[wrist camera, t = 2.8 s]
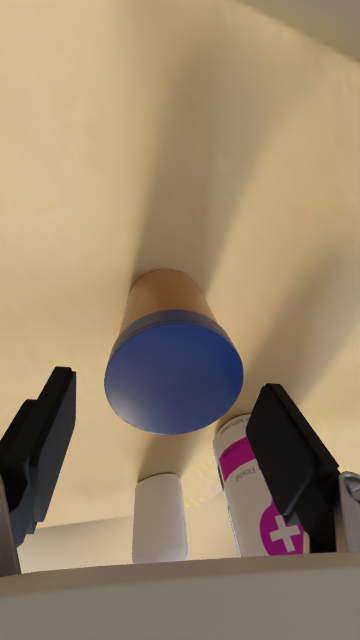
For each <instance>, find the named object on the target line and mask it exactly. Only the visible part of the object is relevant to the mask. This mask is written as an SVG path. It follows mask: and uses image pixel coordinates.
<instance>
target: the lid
mask: <svg viewBox="0 0 360 640" xmlns="http://www.w3.org/2000/svg"><path fill="white" fill-rule="evenodd" d="M243 377H244V373H243V365H242V361H241V359H240V356H239V354H238V352H237V350H236V349H235V347H234V345H233V343H232V342H231V340H230V338H229V336H228V335H227V333H226V332H225V331H224V329H223V328H222V327H221V326H220V325H219V324H218V323H216V322H215V321H213V320H212V319H210V318H209V317H207V316H205V315H203V314H200V313H197V312H193V311H188V310H180V309H171V310H163V311H157V312H154V313H151V314H148V315H146V316H144V317H141V318H140V319H138V320H136V321H135V322H133V323H132V324H131V325H129V326H128V327H127V328H126V329H125V330H124V331H123V332H122V333H121V334H120V336H119V337H118V338H117V340H116V342H115V344H114V345H113V348H112V351H111V354H110V357H109V361H108V365H107V368H106V372H105V378H104V387H105V393H106V396H107V399H108V402H109V403H110V405H111V407H112V408H113V410H114V411H115V412H116V414H117V415H118V416H119V417H120V418H121V419H123V420H124V421H125V422H127V423H128V424H130V425H132V426H134V427H136V428H138V429H140V430H143V431H146V432H150V433H155V434H164V435H174V434H183V433H188V432H192V431H195V430H198V429H201V428H204V427H206V426H208V425H210V424H212V423H213V422H215V421H216V420H218V419H219V418H220V417H222V416H223V415H224V414H225V413H226V412H227V411H228V410H229V409H230V408H231V407H232V405H233V404H234V403H235V401H236V400H237V398H238V396H239V394H240V391H241V388H242V385H243Z"/></svg>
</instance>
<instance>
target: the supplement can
mask: <svg viewBox="0 0 360 640" xmlns="http://www.w3.org/2000/svg"><path fill="white" fill-rule="evenodd" d="M250 416H251V414H246V415H242V416H238V417H236V418H234V419H232V420H230V421H228V422H227V423H226V424H225V425H224V426H223V427H221V428H220V430H219V431H218V432H217V434H216V436H215V438H214V440H213V452H214V456H215V460H216V465H217V469H218V473H219V477H220V481H221V485H222V489H223V493H224V497H225V501H226V506H227V510H228V513H229V518H230V522H231V526H232V530H233V533H234V538H235V542H236V547H237V550H238V554H239V557H256V556H274V555H293V554H303V535H304V530H303V528H302V526H301V524H299V525H286V523H285V520H284V518H283V516H282V515H280V514H279V512H278V511H277V508H276V506H275V504H274V501H273V499H272V496H271V494H270V492H269V489H268V487H267V484H266V482H265V479H264V477H263V475H262V472H261V470H260V467H259V465H258V463H257V460H256V458H255V455H254V453H253V451H252V448H251V446H250V443H249V441H248V439H247V436H246V431H245V430H246V425H247V423H248V421H249V418H250Z"/></svg>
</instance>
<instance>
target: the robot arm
mask: <svg viewBox="0 0 360 640" xmlns="http://www.w3.org/2000/svg"><path fill="white" fill-rule="evenodd" d="M75 419H76V372H74V371H72V369H71V368H70V367H57V366H56V367H55V368H54V370H53V372H52V374H51V375H50V377H49V379H48V381H47V383H46V384H45V386H44V388H43V390H42V392H41V393H40V395H39V397H38V399H37V400H32V399H27V400H26V401H25V402H24V403H23V404H22V406H21V408H20V409H19V411H18V413H17V414H16V416H15V418H14V419H13V421H12V422H11V424H10V426H9V427H8V429H7V431H6V432H5V434H4V435H3V437H2V439H1V440H0V640H360V475H358V474H356V473H353V472H348V471H345V472H342V473H340V472H339V470H338V469H337V468H338V467H339V465H338V463H337V462H336V461H335V459H334V458H333V456H332V455H331V454H330V452H329V451H328V449H327V448H326V447H325V445H324V444H323V442H322V441H321V440H320V438H319V437H318V436H317V434H316V433H315V431H314V430H313V429H312V427H311V426H310V424H309V423H308V422H307V420H306V419H305V417H304V416H303V415H302V413H301V412H300V410H299V409H298V408H297V406H296V405H295V403H294V402H293V401H292V399H291V398H290V396H289V395H288V394H287V392H286V391H285V390H284V388H283V387H282V386H281V385H280V384H272V383H267V384H266V385H265V386H263V387H262V389H261V391H260V394H259V396H258V399H257V401H256V403H255V406H254V408H253V411H252V413H251V416H250V418H249V421H248V423H247V425H246V430H245V431H246V436H247V439H248V441H249V443H250V446H251V448H252V451H253V453H254V455H255V458H256V460H257V463H258V465H259V467H260V470H261V472H262V475H263V477H264V479H265V482H266V484H267V487H268V489H269V492H270V494H271V496H272V499H273V501H274V504H275V506H276V508H277V511H278V512H279V514H280V515H282V516H283V518H284V520H285V523H286V525H299V524H301V526H302V528H303V530H304V535H303V554H293V555H274V556H256V557H239V558H223V559H206V560H189V561H173V562H157V563H142V564H128V565H112V566H97V567H85V568H74V569H61V570H50V571H39V572H31V573H24V574H22V573H21V569H20V563H19V559H18V553H17V547H18V546H20V545H21V544H22V543H23V541H24V538H25V535H26V534H34V531H35V528H36V525H37V522H43V521H44V519H45V516H46V513H47V510H48V507H49V504H50V501H51V498H52V495H53V492H54V489H55V485H56V482H57V479H58V476H59V473H60V470H61V467H62V464H63V461H64V458H65V455H66V452H67V448H68V445H69V442H70V439H71V436H72V433H73V430H74V426H75Z"/></svg>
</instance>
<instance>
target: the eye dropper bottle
mask: <svg viewBox="0 0 360 640" xmlns="http://www.w3.org/2000/svg"><path fill="white" fill-rule="evenodd" d="M187 553H188V545H187V534H186V524H185V514H184V504H183V495H182V485H181V482H180V479H179V477H178V476H177V475H176V474H171V473H170V474H160V475H155V476H152V477H149V478H147V479H145V480H143V481H141V482H139V483H138V484H137V486H136V489H135V506H134V524H133V543H132V560H133V564H142V563H157V562H173V561H184V560H185V559H186V557H187Z"/></svg>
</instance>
